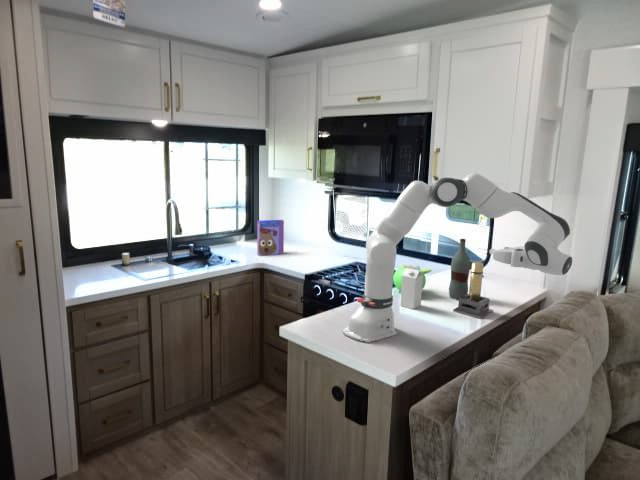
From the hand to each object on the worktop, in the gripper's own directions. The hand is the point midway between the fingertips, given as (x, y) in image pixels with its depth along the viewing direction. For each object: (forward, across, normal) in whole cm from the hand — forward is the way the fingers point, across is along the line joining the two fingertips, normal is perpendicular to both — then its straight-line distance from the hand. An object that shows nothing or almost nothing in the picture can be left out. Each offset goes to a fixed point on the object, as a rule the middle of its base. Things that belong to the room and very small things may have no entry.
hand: (497, 250), depth 183 cm
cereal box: (+157, +31, +32) cm, 164 cm away
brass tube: (+12, -4, +31) cm, 34 cm away
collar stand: (+12, -4, +32) cm, 35 cm away
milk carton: (+32, +16, +32) cm, 48 cm away
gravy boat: (+48, +3, +32) cm, 58 cm away
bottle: (+30, -14, +32) cm, 46 cm away
